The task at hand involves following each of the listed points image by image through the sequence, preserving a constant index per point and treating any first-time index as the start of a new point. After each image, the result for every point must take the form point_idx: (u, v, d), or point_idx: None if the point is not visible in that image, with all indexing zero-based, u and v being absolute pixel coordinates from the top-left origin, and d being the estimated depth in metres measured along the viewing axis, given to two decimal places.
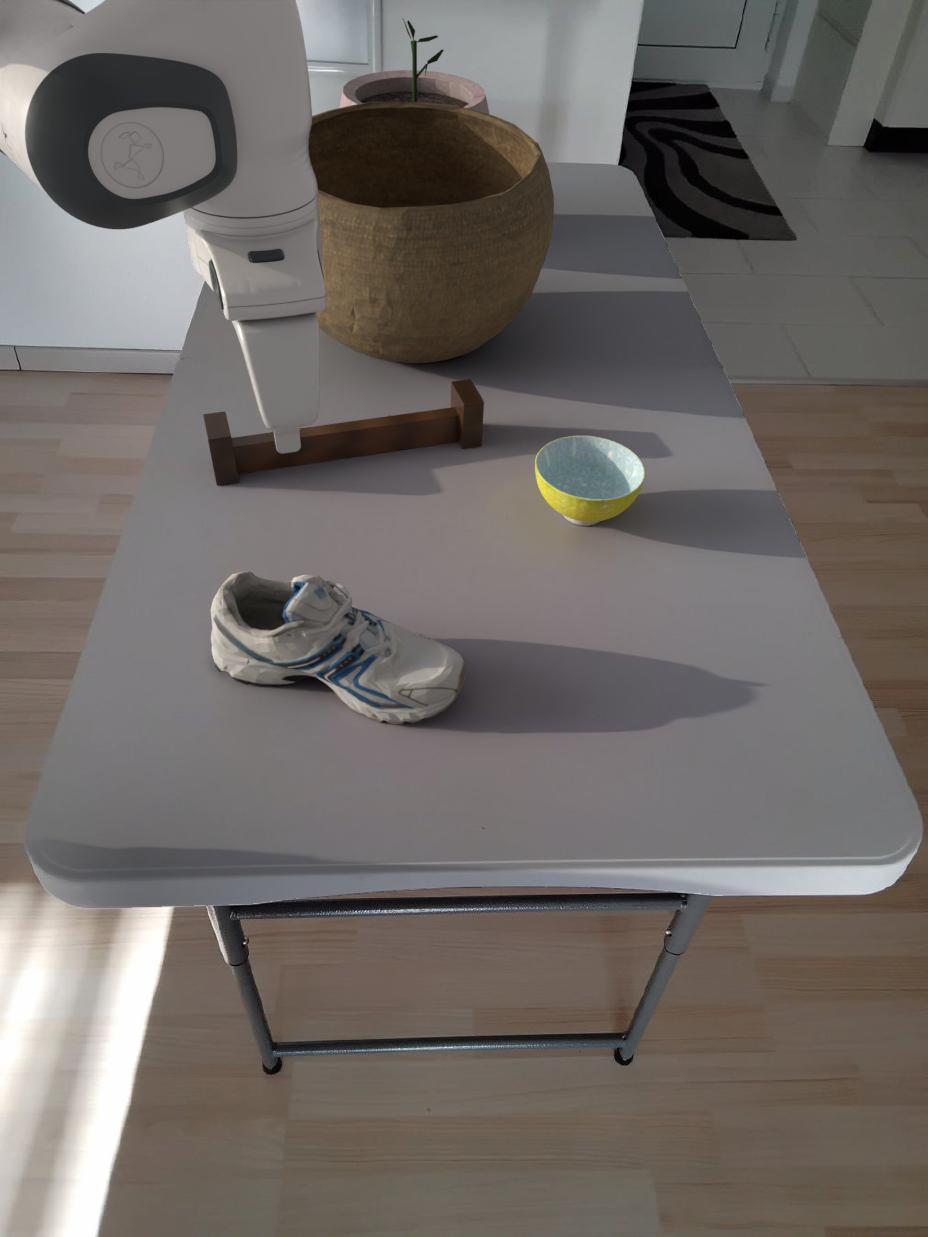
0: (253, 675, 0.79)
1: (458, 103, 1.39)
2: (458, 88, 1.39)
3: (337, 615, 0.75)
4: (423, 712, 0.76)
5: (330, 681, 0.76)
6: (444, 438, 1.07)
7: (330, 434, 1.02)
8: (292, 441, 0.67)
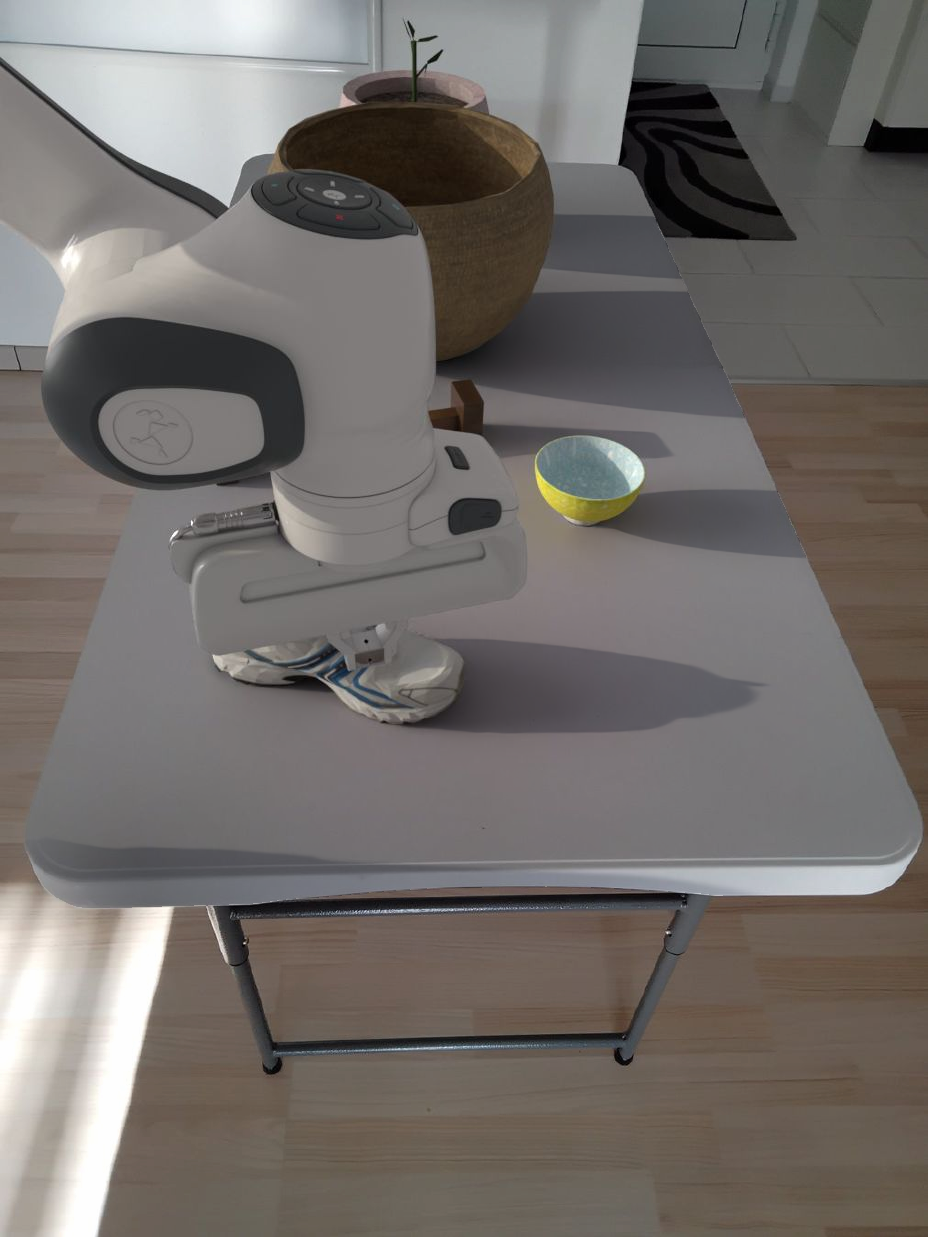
0: (253, 675, 0.79)
1: (458, 103, 1.39)
2: (458, 88, 1.39)
3: None
4: (423, 712, 0.76)
5: (330, 681, 0.76)
6: None
7: None
8: None
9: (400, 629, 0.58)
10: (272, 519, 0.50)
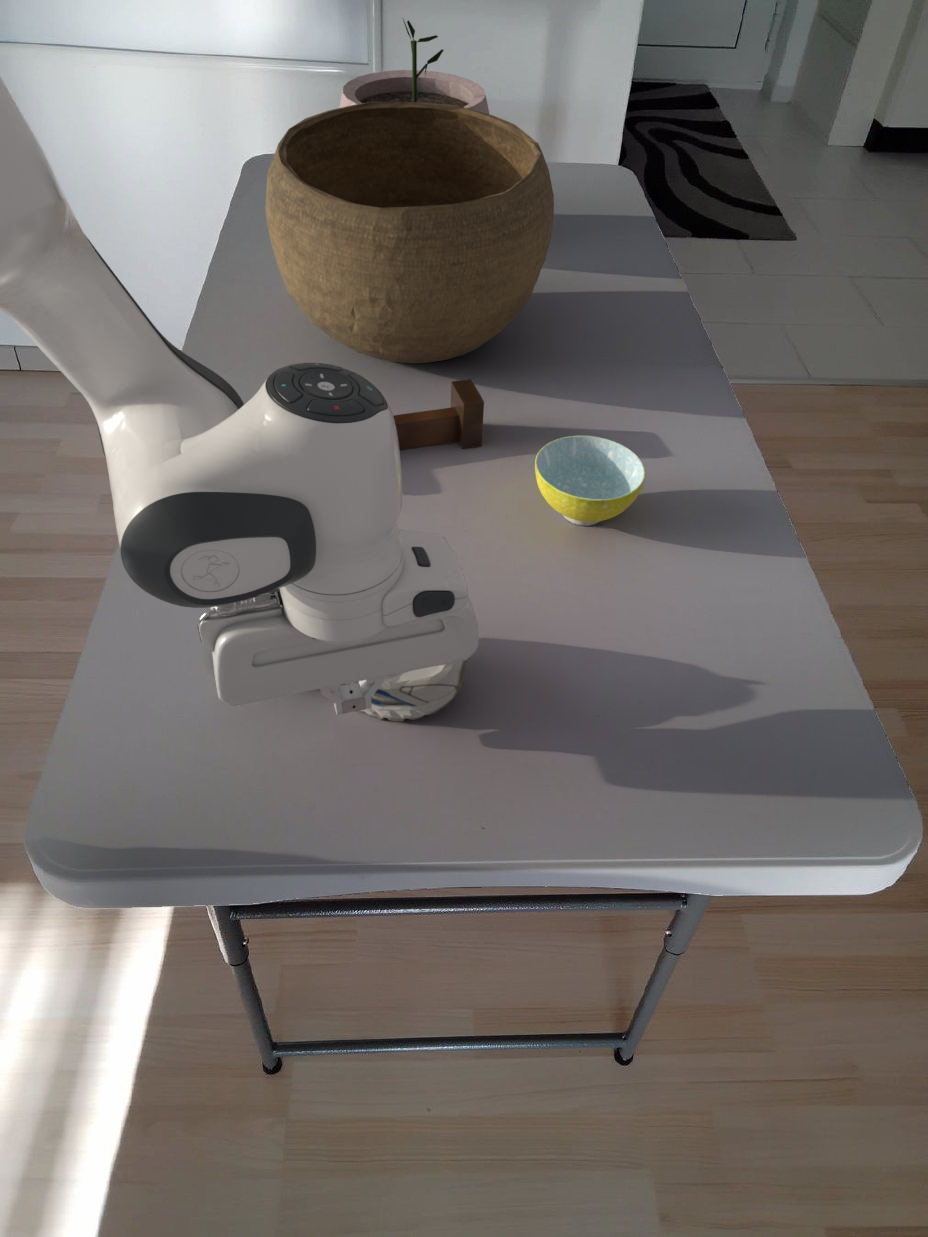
0: None
1: (458, 103, 1.39)
2: (458, 88, 1.39)
3: None
4: (424, 709, 0.77)
5: None
6: (444, 438, 1.07)
7: None
8: None
9: (378, 683, 0.73)
10: (277, 604, 0.64)
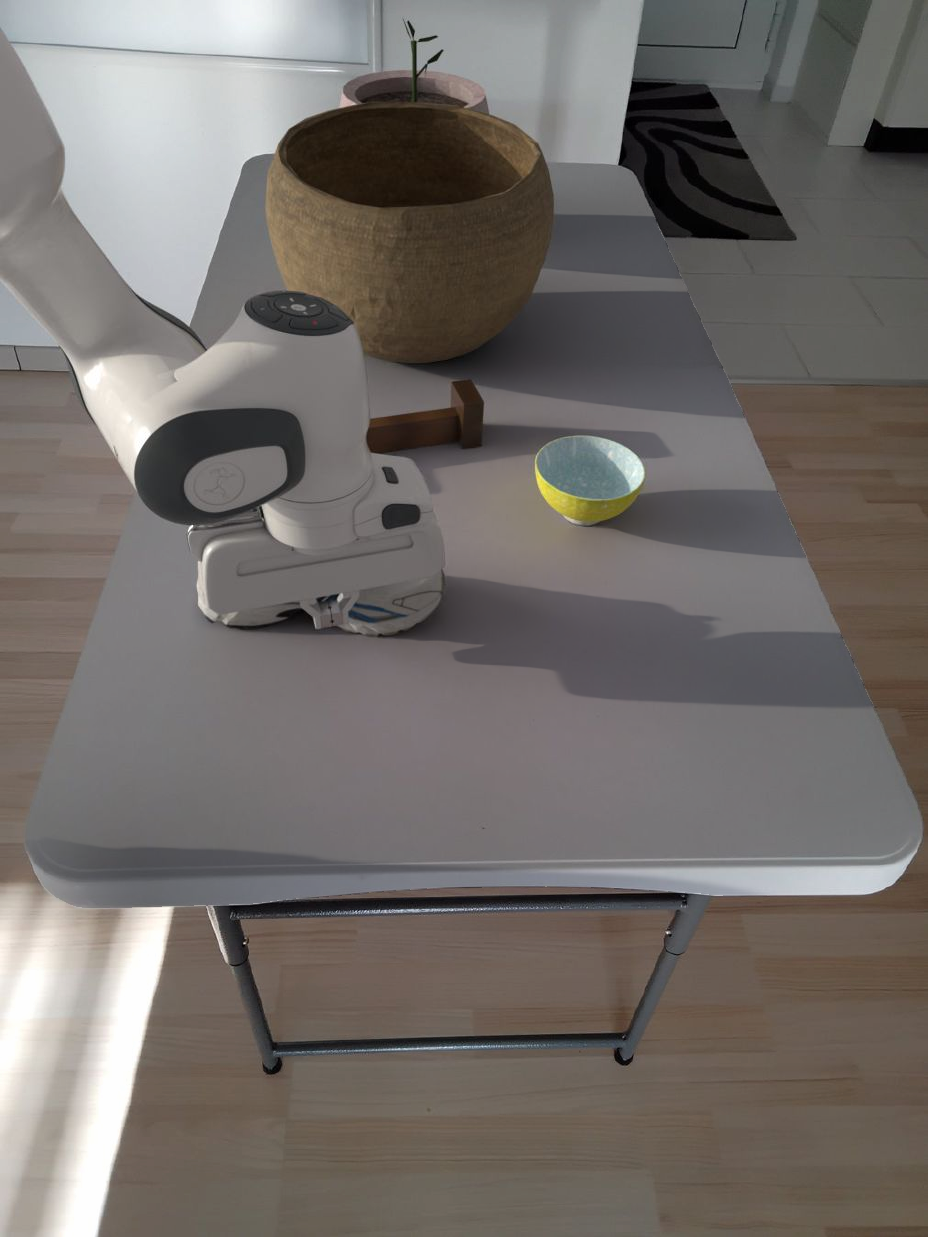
0: (248, 618, 0.84)
1: (458, 103, 1.39)
2: (458, 88, 1.39)
3: None
4: (416, 617, 0.84)
5: None
6: (444, 438, 1.07)
7: None
8: None
9: (354, 598, 0.79)
10: (259, 517, 0.71)
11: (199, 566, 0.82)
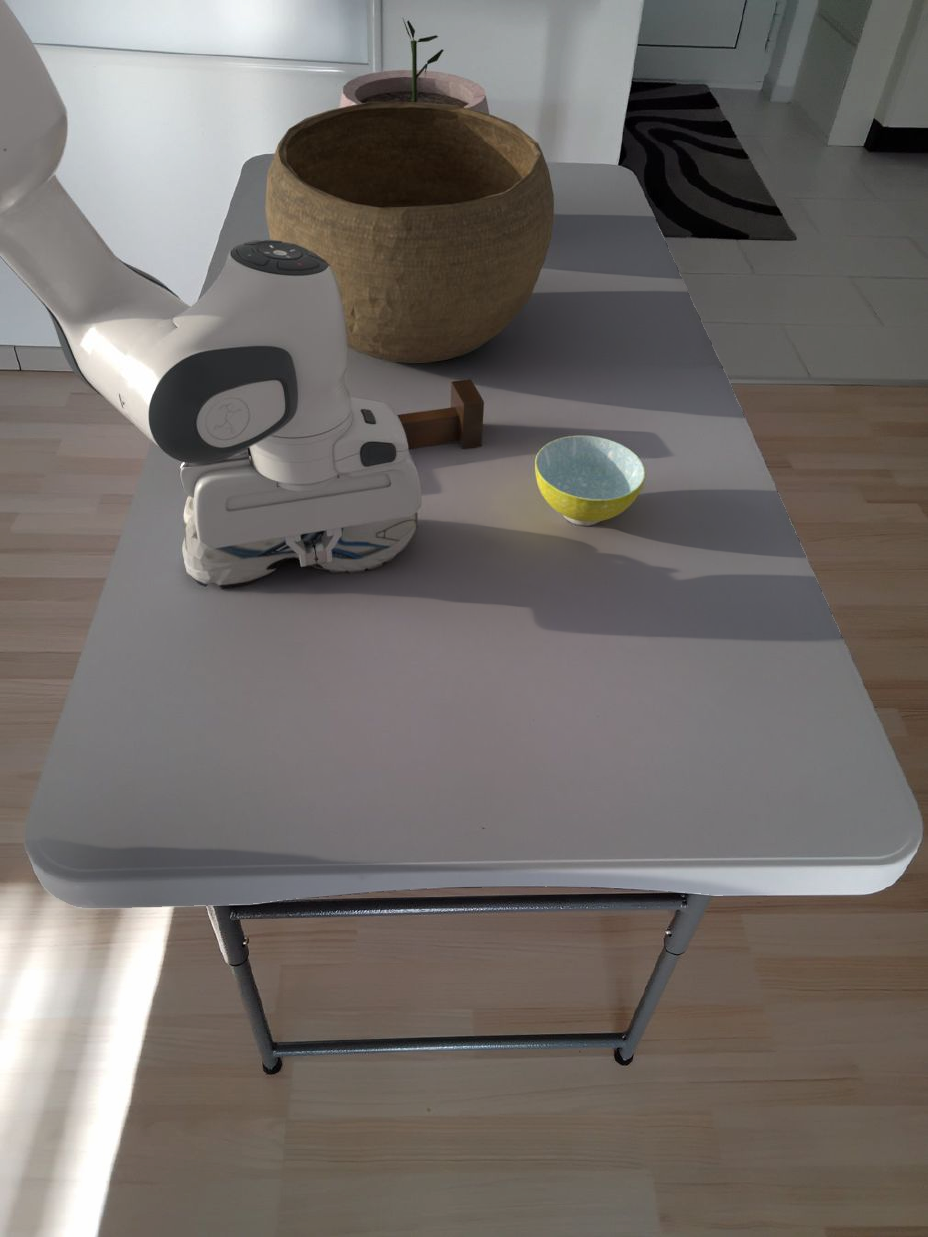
0: (241, 575, 0.88)
1: (458, 103, 1.39)
2: (458, 88, 1.39)
3: None
4: (397, 547, 0.91)
5: None
6: (444, 438, 1.07)
7: None
8: None
9: (336, 536, 0.85)
10: (246, 454, 0.77)
11: (188, 531, 0.85)
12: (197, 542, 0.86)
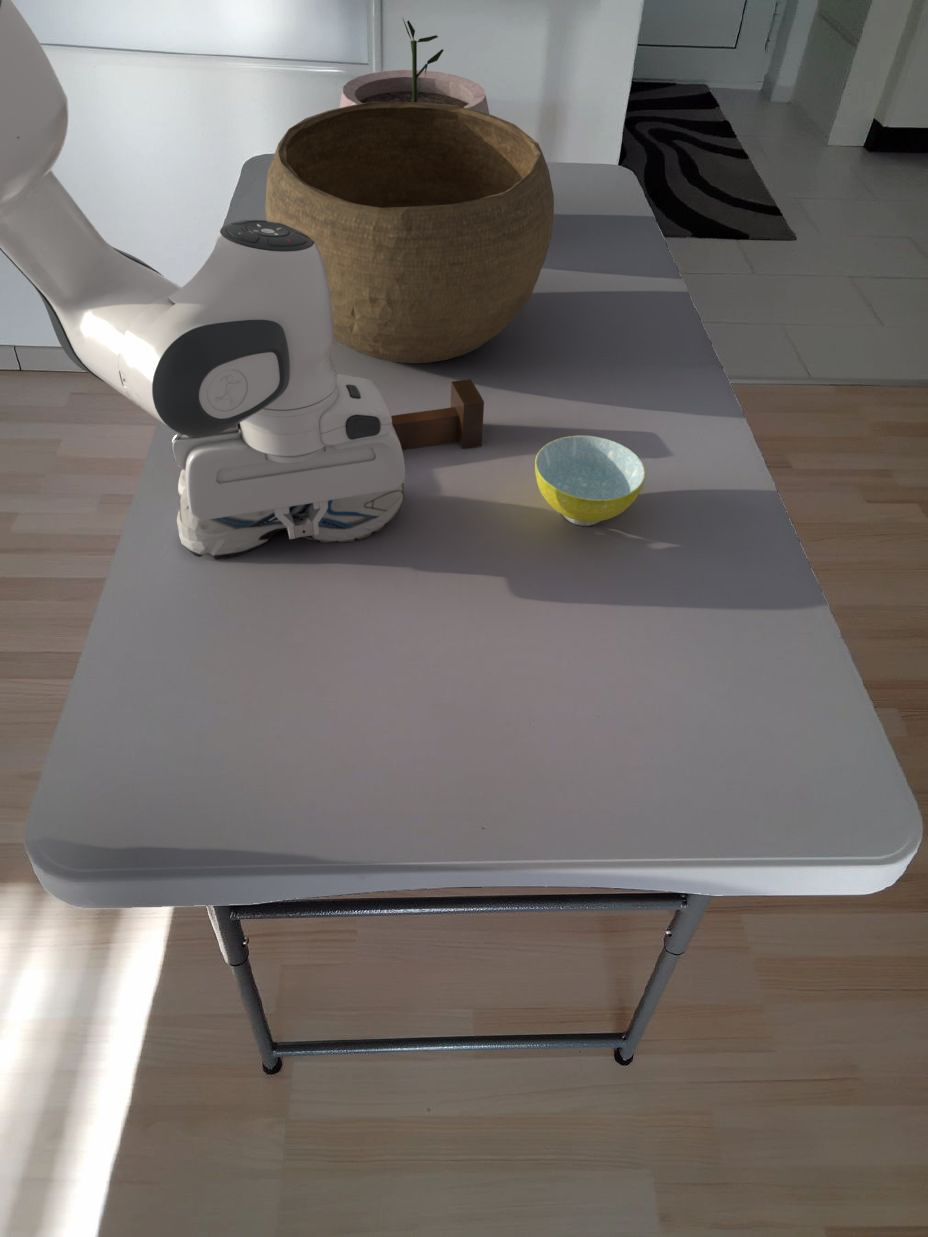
0: (234, 545, 0.91)
1: (458, 103, 1.39)
2: (458, 88, 1.39)
3: None
4: (385, 517, 0.94)
5: None
6: (444, 438, 1.07)
7: None
8: None
9: (323, 509, 0.88)
10: (236, 428, 0.80)
11: (183, 503, 0.88)
12: None
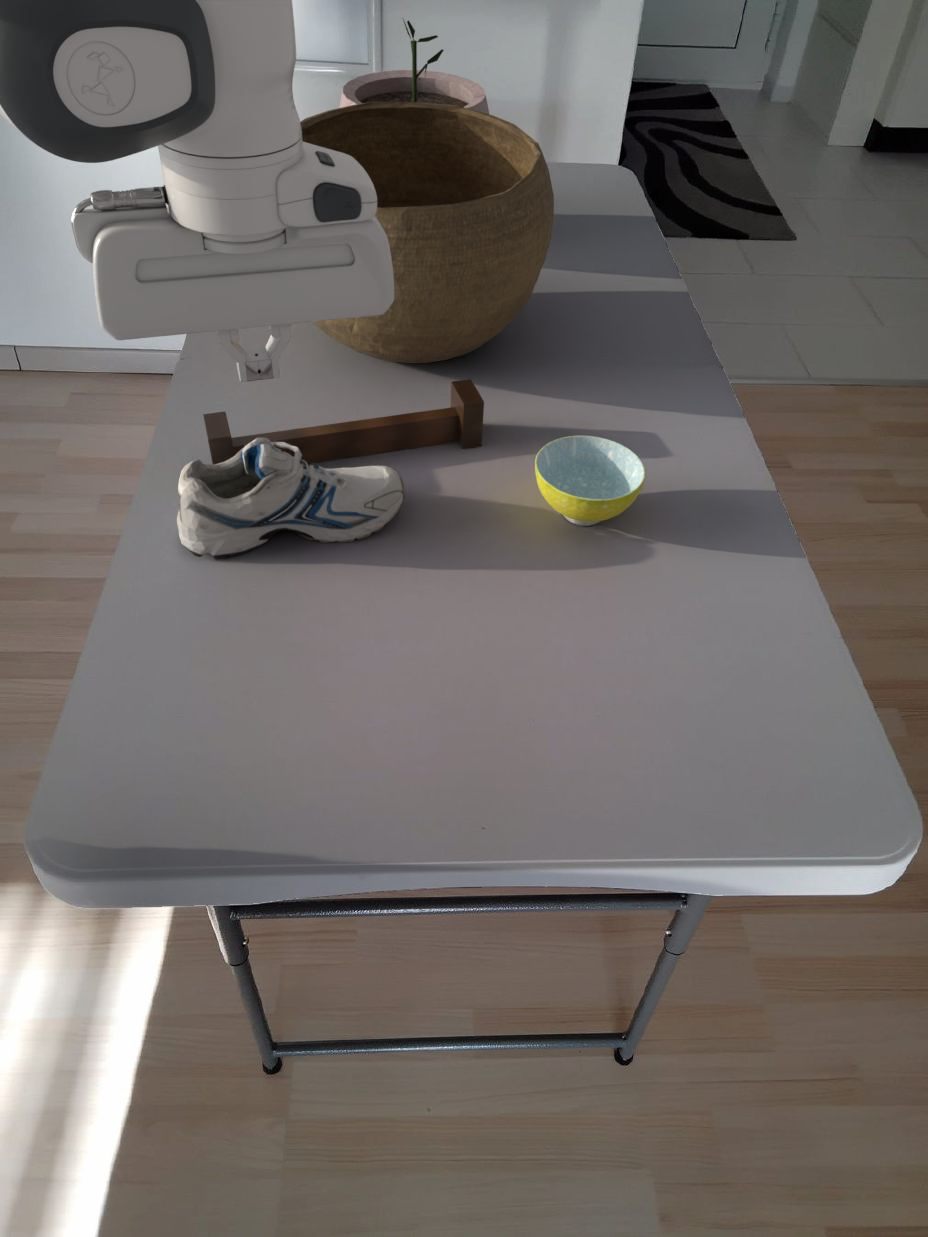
0: (234, 545, 0.91)
1: (458, 103, 1.39)
2: (458, 88, 1.39)
3: (296, 461, 0.89)
4: (385, 517, 0.94)
5: (307, 518, 0.91)
6: (444, 438, 1.07)
7: (330, 434, 1.02)
8: None
9: (284, 339, 0.66)
10: (162, 199, 0.58)
11: (183, 503, 0.88)
12: (192, 513, 0.88)
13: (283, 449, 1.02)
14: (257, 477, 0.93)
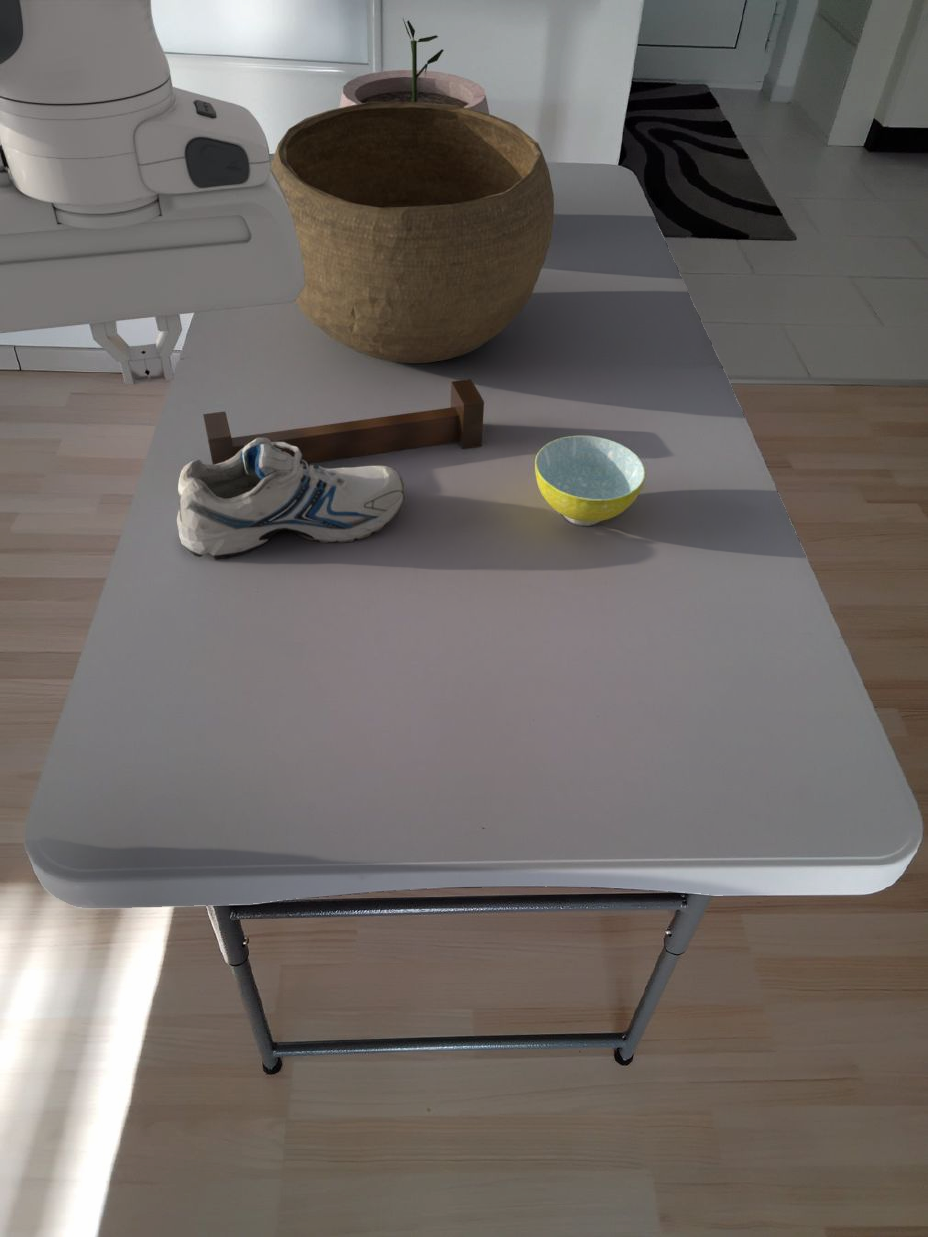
0: (234, 545, 0.91)
1: (458, 103, 1.39)
2: (458, 88, 1.39)
3: (296, 461, 0.89)
4: (385, 517, 0.94)
5: (307, 518, 0.91)
6: (444, 438, 1.07)
7: (330, 434, 1.02)
8: None
9: (174, 332, 0.55)
10: None
11: (183, 503, 0.88)
12: (192, 513, 0.88)
13: (283, 449, 1.02)
14: (257, 477, 0.93)
